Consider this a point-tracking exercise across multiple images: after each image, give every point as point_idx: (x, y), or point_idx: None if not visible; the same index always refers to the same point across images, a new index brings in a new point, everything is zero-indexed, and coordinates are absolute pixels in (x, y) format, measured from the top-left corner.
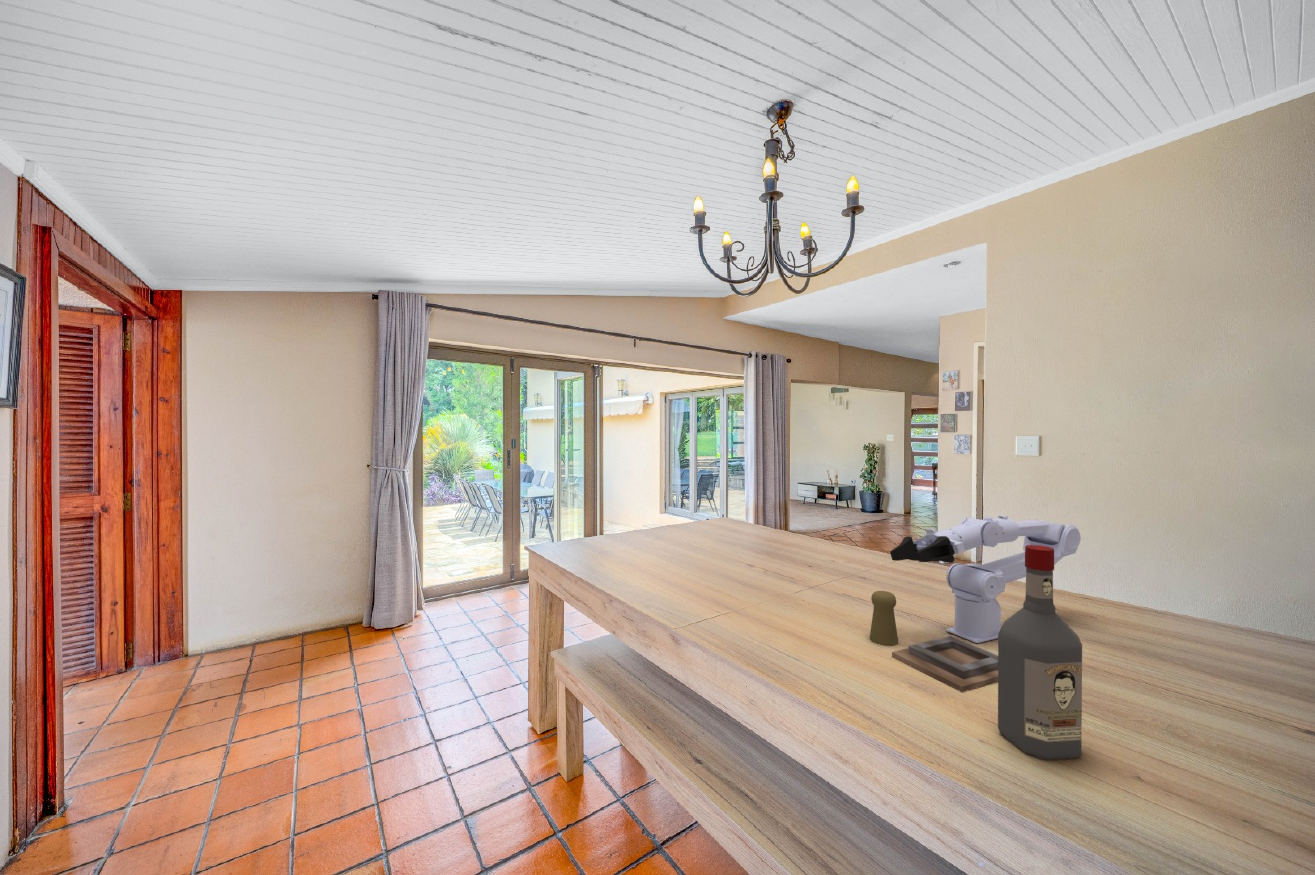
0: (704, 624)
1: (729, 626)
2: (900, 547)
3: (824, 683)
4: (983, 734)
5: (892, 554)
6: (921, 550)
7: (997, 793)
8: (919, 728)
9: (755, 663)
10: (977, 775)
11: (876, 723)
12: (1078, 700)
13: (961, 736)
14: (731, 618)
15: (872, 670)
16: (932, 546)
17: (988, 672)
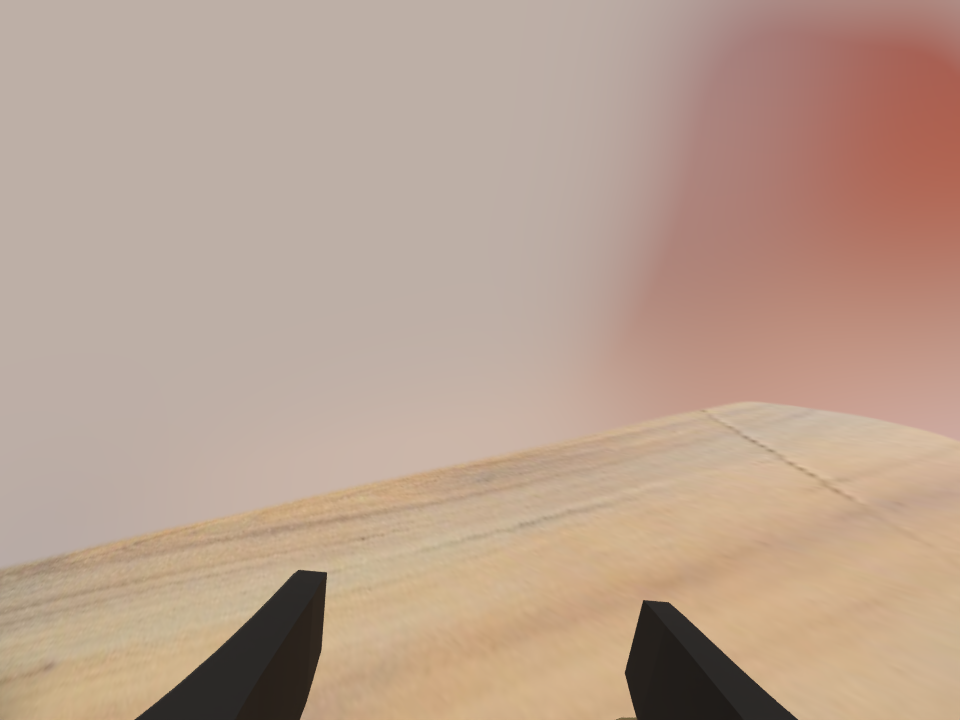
0: (734, 444)
1: (729, 475)
2: (719, 706)
3: (409, 525)
4: (41, 694)
5: (644, 626)
6: (281, 591)
7: (21, 575)
8: (185, 584)
9: (527, 464)
10: (56, 579)
11: (256, 532)
12: None
13: (96, 639)
14: (793, 491)
15: (405, 654)
16: (163, 698)
17: None
